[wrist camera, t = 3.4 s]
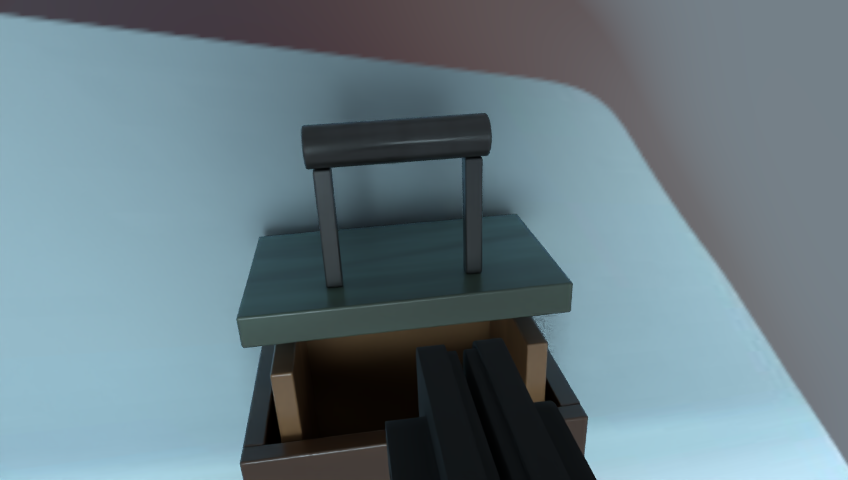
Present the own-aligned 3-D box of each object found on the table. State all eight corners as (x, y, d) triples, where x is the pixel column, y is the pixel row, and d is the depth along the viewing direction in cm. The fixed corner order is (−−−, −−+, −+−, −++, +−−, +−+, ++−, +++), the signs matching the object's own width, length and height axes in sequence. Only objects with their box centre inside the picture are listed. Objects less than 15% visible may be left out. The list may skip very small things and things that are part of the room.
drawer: (236, 101, 23) (201, 145, 17) (520, 84, 24) (586, 118, 18) (295, 458, 30) (286, 580, 24) (510, 429, 31) (554, 537, 25)
